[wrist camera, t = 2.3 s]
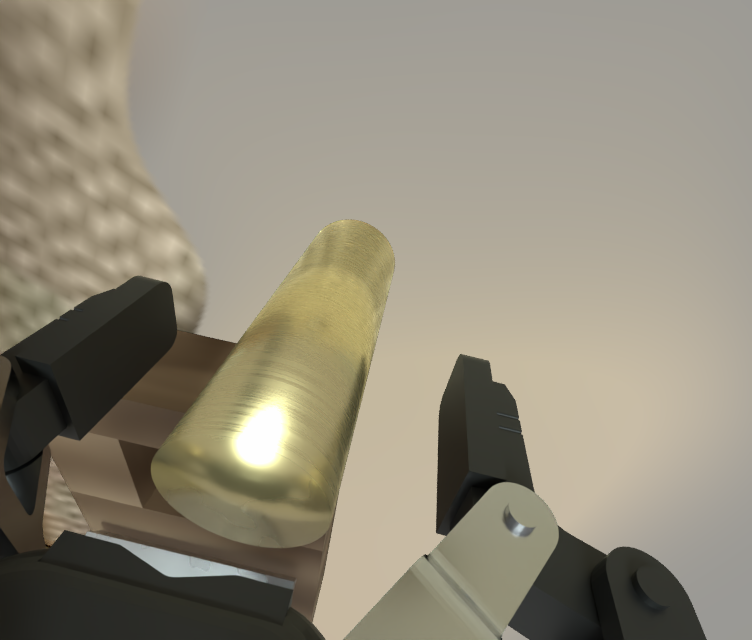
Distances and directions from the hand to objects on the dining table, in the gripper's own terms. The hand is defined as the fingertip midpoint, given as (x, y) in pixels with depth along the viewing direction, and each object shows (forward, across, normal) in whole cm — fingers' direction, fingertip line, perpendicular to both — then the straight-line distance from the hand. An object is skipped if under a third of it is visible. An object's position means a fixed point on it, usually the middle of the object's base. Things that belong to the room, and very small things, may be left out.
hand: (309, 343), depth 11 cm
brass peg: (+4, 0, -1) cm, 4 cm away
